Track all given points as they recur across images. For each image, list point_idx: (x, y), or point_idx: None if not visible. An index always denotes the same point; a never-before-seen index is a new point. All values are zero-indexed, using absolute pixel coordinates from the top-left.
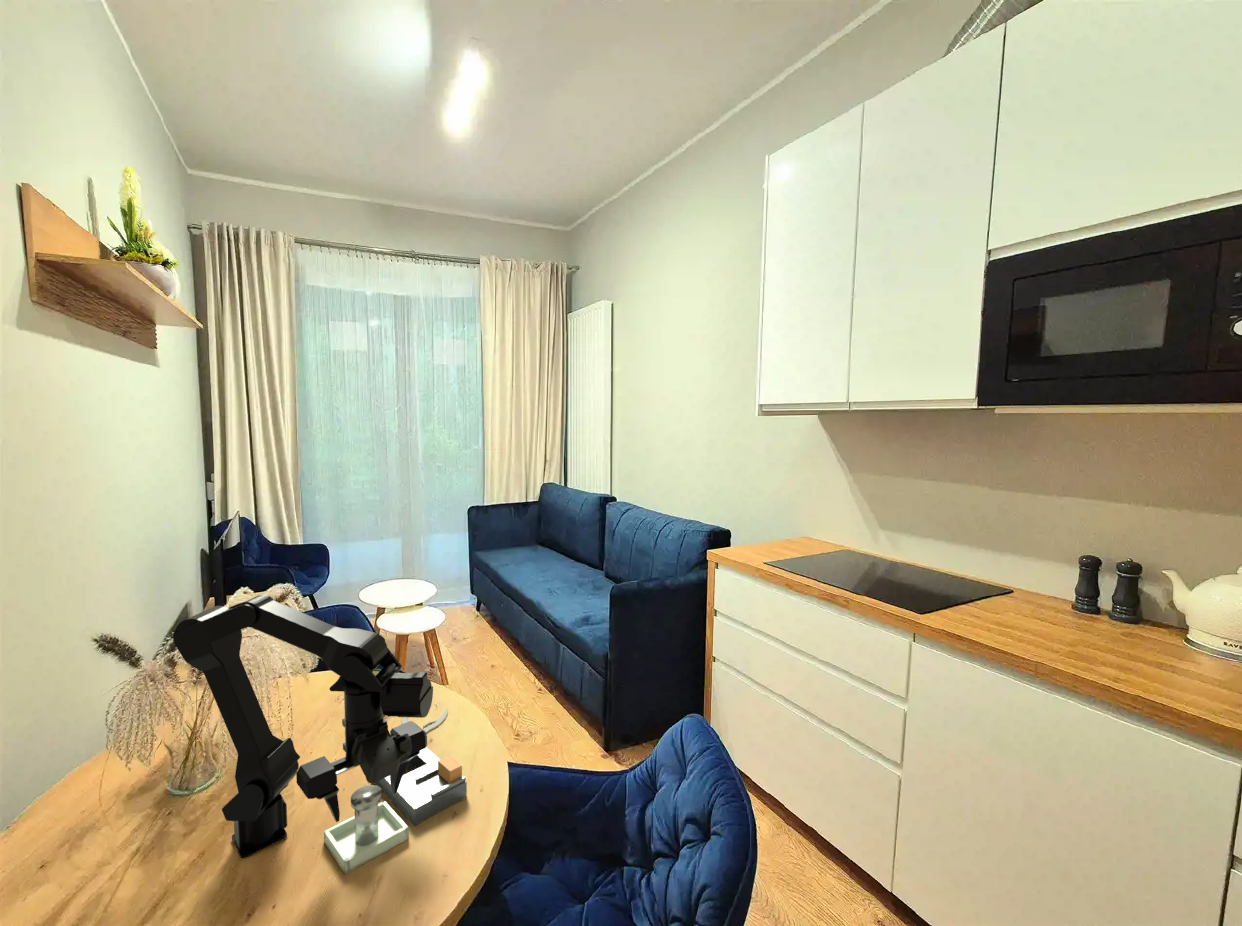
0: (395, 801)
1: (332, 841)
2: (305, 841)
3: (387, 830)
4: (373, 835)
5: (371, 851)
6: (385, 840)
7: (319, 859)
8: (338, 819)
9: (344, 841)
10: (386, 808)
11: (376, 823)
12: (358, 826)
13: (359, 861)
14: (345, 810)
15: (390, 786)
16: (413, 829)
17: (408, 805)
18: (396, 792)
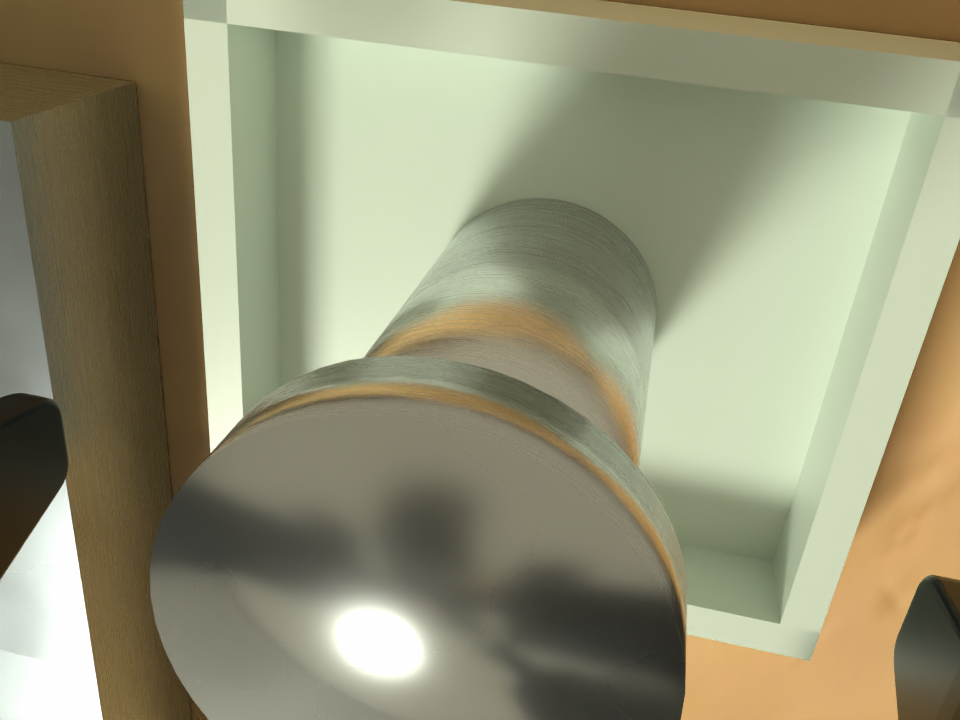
0: (149, 478)
1: (857, 487)
2: (872, 703)
3: (357, 229)
4: (519, 221)
5: (664, 19)
6: (478, 4)
7: (956, 449)
8: (958, 596)
9: (706, 437)
10: None
11: (445, 272)
12: (640, 380)
13: (814, 32)
14: None
15: (103, 624)
16: (162, 48)
17: (52, 264)
18: (24, 395)
